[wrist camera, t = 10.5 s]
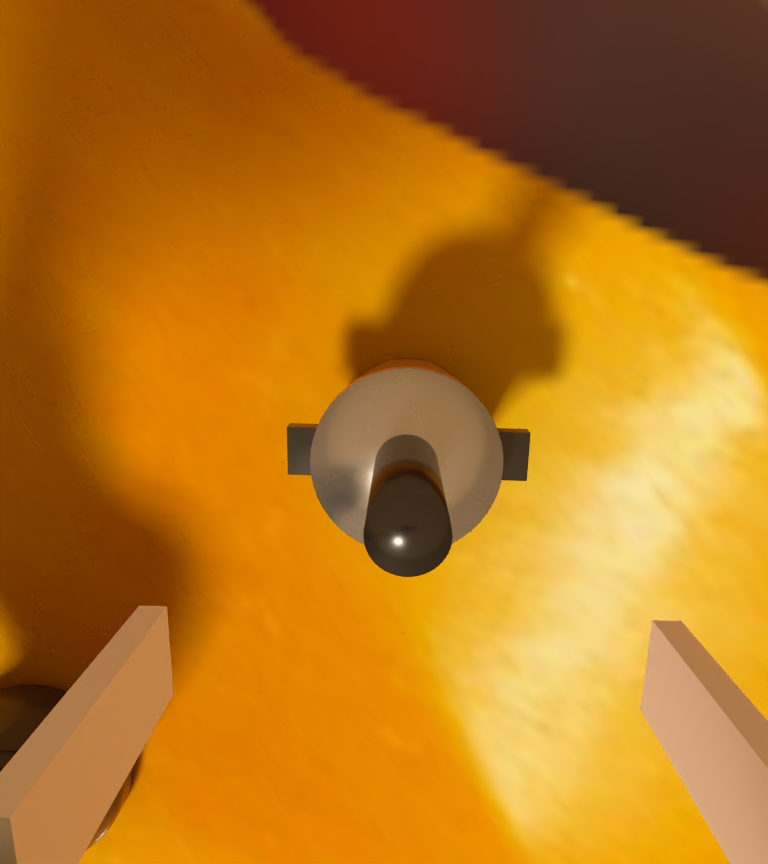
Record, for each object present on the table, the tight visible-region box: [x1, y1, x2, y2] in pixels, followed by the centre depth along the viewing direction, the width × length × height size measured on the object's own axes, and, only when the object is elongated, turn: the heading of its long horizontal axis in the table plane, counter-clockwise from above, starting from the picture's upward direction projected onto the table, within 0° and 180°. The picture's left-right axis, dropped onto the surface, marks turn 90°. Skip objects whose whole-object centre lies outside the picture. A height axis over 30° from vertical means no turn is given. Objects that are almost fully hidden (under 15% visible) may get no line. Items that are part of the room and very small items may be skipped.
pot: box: [287, 359, 530, 481], centre depth 38 cm, size 15×10×8 cm
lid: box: [310, 366, 503, 577], centre depth 29 cm, size 11×11×11 cm
